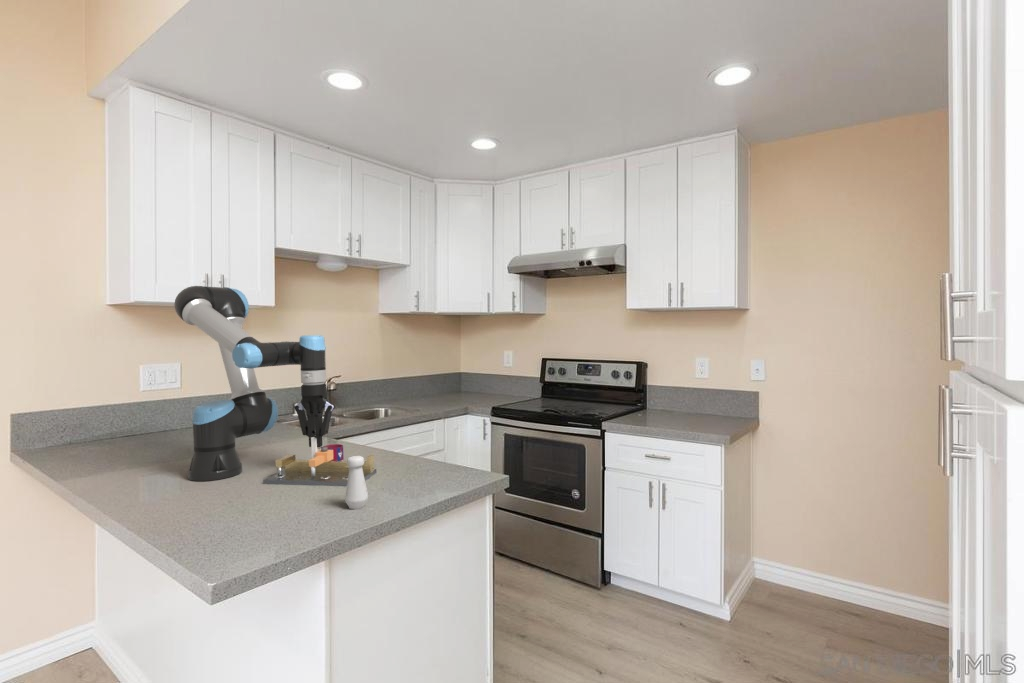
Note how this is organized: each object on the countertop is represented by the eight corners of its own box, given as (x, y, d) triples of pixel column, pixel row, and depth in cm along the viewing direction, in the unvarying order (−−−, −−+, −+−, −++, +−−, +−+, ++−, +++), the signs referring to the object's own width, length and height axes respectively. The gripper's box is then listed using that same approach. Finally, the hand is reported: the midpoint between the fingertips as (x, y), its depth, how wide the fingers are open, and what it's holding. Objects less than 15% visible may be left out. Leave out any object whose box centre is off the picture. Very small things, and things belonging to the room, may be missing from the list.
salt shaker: (360, 501, 137) (358, 452, 137) (372, 505, 133) (371, 456, 133) (340, 507, 133) (339, 457, 132) (353, 512, 129) (352, 460, 129)
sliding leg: (306, 476, 156) (305, 453, 156) (322, 467, 166) (321, 445, 165) (318, 476, 156) (317, 453, 155) (333, 467, 165) (333, 446, 165)
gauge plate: (263, 483, 155) (263, 479, 154) (289, 470, 168) (289, 466, 168) (357, 486, 150) (357, 481, 150) (376, 472, 164) (376, 468, 164)
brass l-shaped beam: (272, 476, 158) (272, 460, 158) (289, 468, 167) (289, 453, 166) (362, 478, 154) (361, 462, 154) (374, 470, 163) (373, 454, 162)
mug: (333, 469, 169) (332, 449, 169) (311, 466, 173) (310, 446, 173) (348, 464, 175) (347, 445, 175) (326, 462, 179) (325, 442, 179)
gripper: (288, 384, 160) (290, 459, 161) (326, 384, 158) (329, 460, 159) (301, 382, 168) (303, 454, 168) (338, 382, 166) (340, 454, 166)
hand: (316, 457), depth 164 cm, fingers closed
